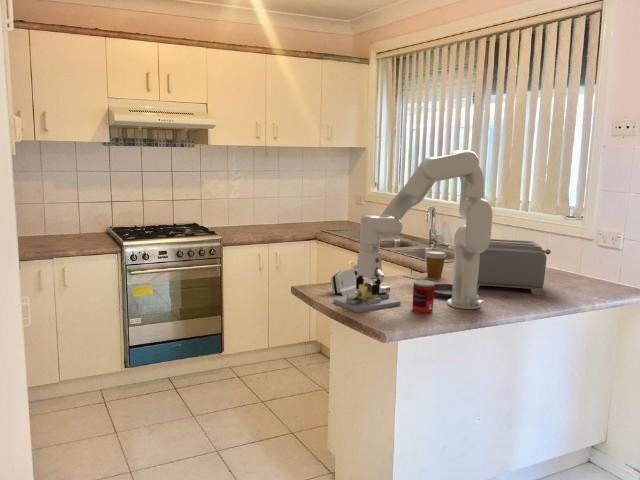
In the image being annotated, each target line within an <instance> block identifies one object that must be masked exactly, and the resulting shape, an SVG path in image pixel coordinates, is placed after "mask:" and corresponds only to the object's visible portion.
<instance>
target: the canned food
mask: <svg viewBox="0 0 640 480" xmlns="http://www.w3.org/2000/svg"><path fill="white" fill-rule="evenodd" d="M435 284H436V283H435V282H434V281H432V280H428V279H420V280H414V281H413V291H412V308H411V309H412V311H413V312H414V313H418V314H423V315H424V314H431V313H432V312H433V310H434V301H435V300H434V299H435V296H434V288H435Z"/></svg>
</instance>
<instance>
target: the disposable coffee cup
mask: <svg viewBox="0 0 640 480" xmlns="http://www.w3.org/2000/svg"><path fill="white" fill-rule="evenodd" d="M446 257H447V254H446V252H444V251H441V250H426V253H425V259H426V273H427V275H426V276H427V278H428V279H433V280H436V279H437V280H439V279H441V278H442V274H443V270H444V264H445V259H446Z"/></svg>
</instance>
